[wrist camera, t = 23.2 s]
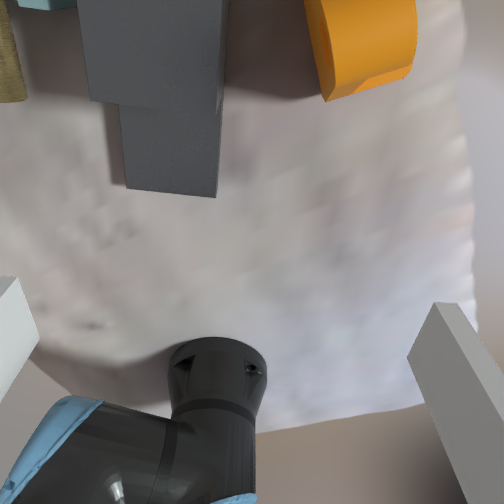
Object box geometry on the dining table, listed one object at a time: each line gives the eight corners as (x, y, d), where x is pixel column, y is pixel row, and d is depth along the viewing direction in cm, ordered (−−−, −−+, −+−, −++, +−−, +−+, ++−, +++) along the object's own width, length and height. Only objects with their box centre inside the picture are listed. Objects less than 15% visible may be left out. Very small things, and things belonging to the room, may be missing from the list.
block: (217, 189, 39) (209, 229, 33) (131, 180, 39) (107, 219, 32) (231, -35, 28) (224, -40, 22) (112, -53, 28) (68, -63, 21)
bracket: (402, 68, 32) (464, 105, 23) (321, 94, 34) (346, 140, 24) (392, -90, 26) (471, -132, 17) (293, -51, 28) (313, -69, 18)
